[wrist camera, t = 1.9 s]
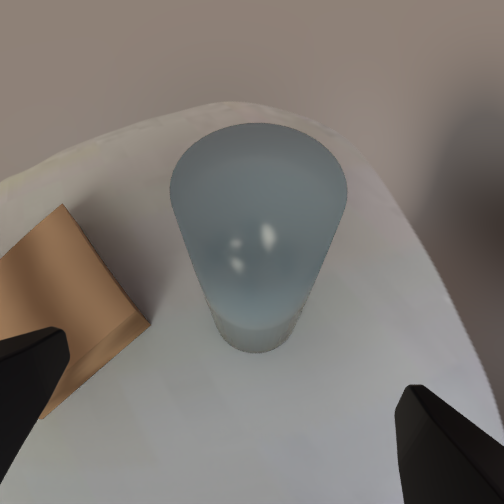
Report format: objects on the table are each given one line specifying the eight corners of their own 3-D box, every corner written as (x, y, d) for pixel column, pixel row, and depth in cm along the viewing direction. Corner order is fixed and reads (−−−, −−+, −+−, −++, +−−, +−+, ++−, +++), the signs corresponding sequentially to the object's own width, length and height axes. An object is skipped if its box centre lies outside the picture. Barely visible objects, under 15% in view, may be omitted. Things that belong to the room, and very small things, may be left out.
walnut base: (42, 419, 16) (16, 416, 13) (-10, 305, 20) (-31, 292, 17) (150, 325, 20) (135, 310, 17) (78, 224, 23) (62, 203, 21)
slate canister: (254, 370, 18) (258, 299, 7) (197, 311, 20) (137, 180, 9) (312, 312, 20) (378, 183, 9) (255, 261, 22) (258, 105, 11)
